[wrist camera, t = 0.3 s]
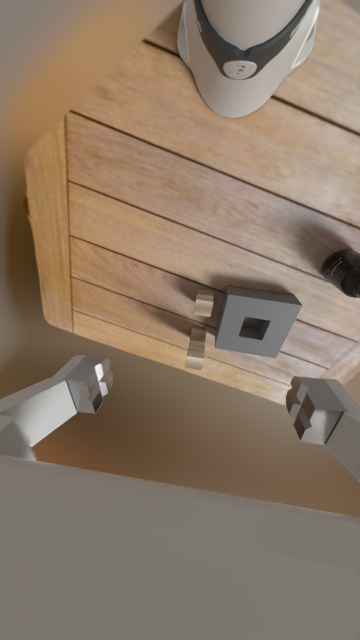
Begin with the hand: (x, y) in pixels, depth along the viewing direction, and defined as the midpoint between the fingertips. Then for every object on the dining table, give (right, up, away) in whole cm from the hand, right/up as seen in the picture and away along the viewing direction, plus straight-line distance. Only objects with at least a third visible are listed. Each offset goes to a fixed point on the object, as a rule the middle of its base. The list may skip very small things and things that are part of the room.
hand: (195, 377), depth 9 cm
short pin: (+6, +8, +41) cm, 42 cm away
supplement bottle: (+33, +14, +32) cm, 49 cm away
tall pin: (+5, -1, +48) cm, 48 cm away
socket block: (+18, +3, +42) cm, 46 cm away
